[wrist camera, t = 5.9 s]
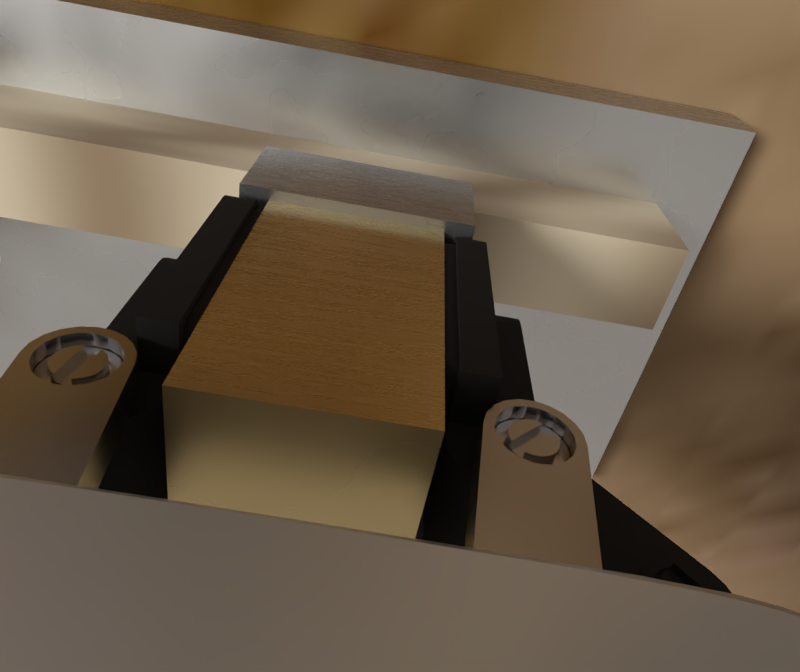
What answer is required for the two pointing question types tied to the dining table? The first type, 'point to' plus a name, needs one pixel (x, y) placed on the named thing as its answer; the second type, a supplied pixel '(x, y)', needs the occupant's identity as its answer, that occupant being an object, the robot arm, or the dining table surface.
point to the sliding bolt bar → (239, 149)
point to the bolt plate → (370, 131)
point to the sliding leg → (322, 349)
